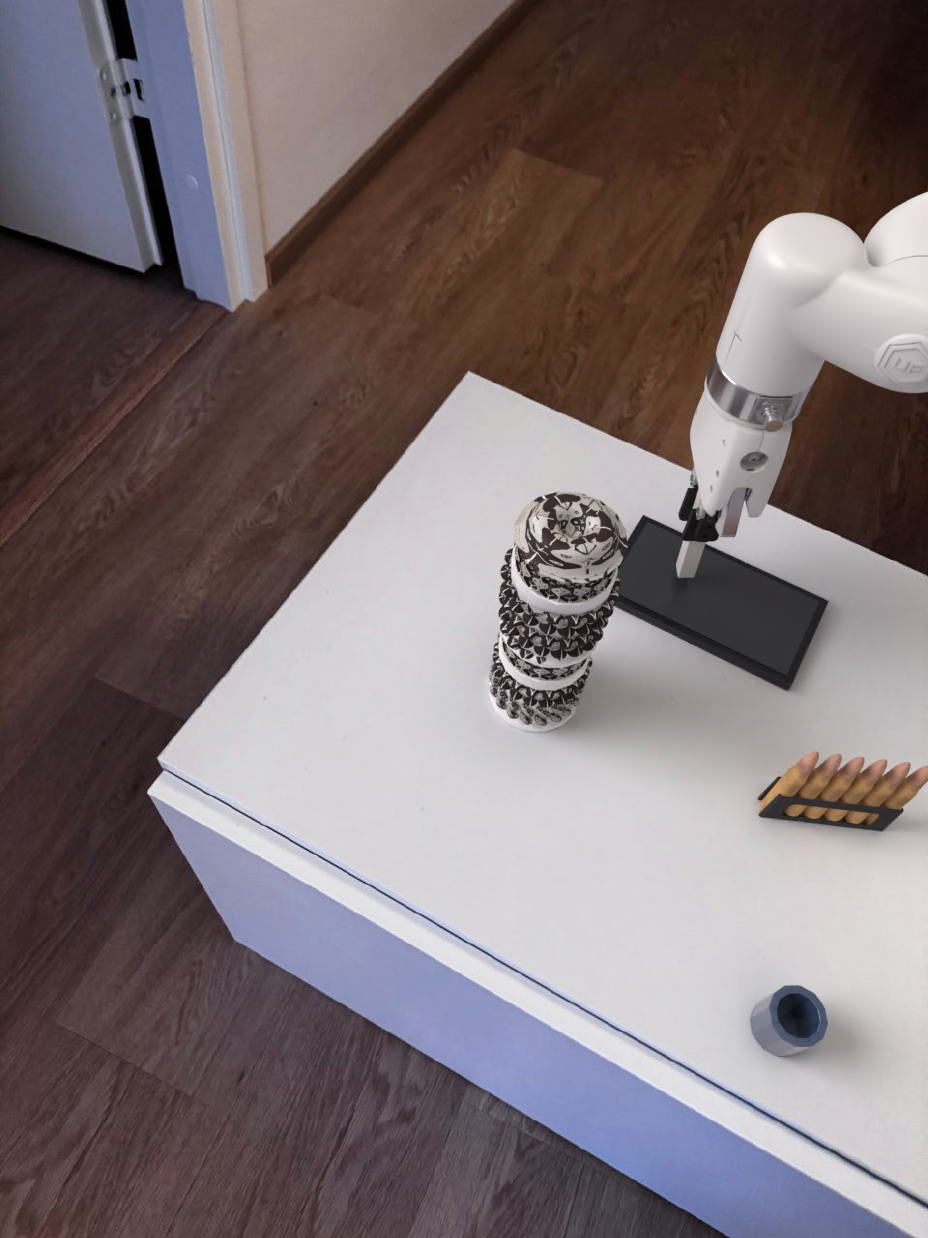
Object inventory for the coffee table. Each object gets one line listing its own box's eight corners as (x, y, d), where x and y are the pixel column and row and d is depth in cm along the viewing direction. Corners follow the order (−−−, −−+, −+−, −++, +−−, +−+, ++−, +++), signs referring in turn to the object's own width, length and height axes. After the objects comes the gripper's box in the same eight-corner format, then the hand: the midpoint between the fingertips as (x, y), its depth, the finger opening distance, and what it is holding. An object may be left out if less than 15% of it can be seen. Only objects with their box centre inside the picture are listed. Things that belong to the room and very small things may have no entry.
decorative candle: (474, 724, 87) (496, 562, 66) (495, 638, 92) (521, 461, 71) (575, 747, 86) (629, 590, 65) (590, 659, 91) (646, 486, 70)
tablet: (825, 606, 96) (829, 600, 95) (787, 691, 90) (791, 685, 89) (640, 520, 100) (643, 513, 99) (594, 596, 95) (596, 589, 94)
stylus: (690, 570, 96) (718, 480, 84) (692, 583, 95) (721, 495, 83) (673, 570, 96) (700, 481, 84) (676, 584, 95) (703, 495, 83)
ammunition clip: (757, 818, 83) (805, 762, 73) (755, 798, 84) (803, 740, 74) (881, 833, 83) (947, 779, 73) (878, 813, 84) (943, 756, 74)
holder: (797, 998, 76) (820, 984, 71) (808, 1057, 73) (833, 1046, 69) (744, 999, 75) (764, 985, 71) (754, 1057, 73) (775, 1047, 69)
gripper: (830, 459, 69) (752, 601, 85) (787, 309, 77) (723, 463, 93) (726, 457, 69) (667, 600, 84) (694, 307, 77) (645, 462, 92)
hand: (697, 527), depth 88 cm, fingers closed on stylus, 1 cm apart
